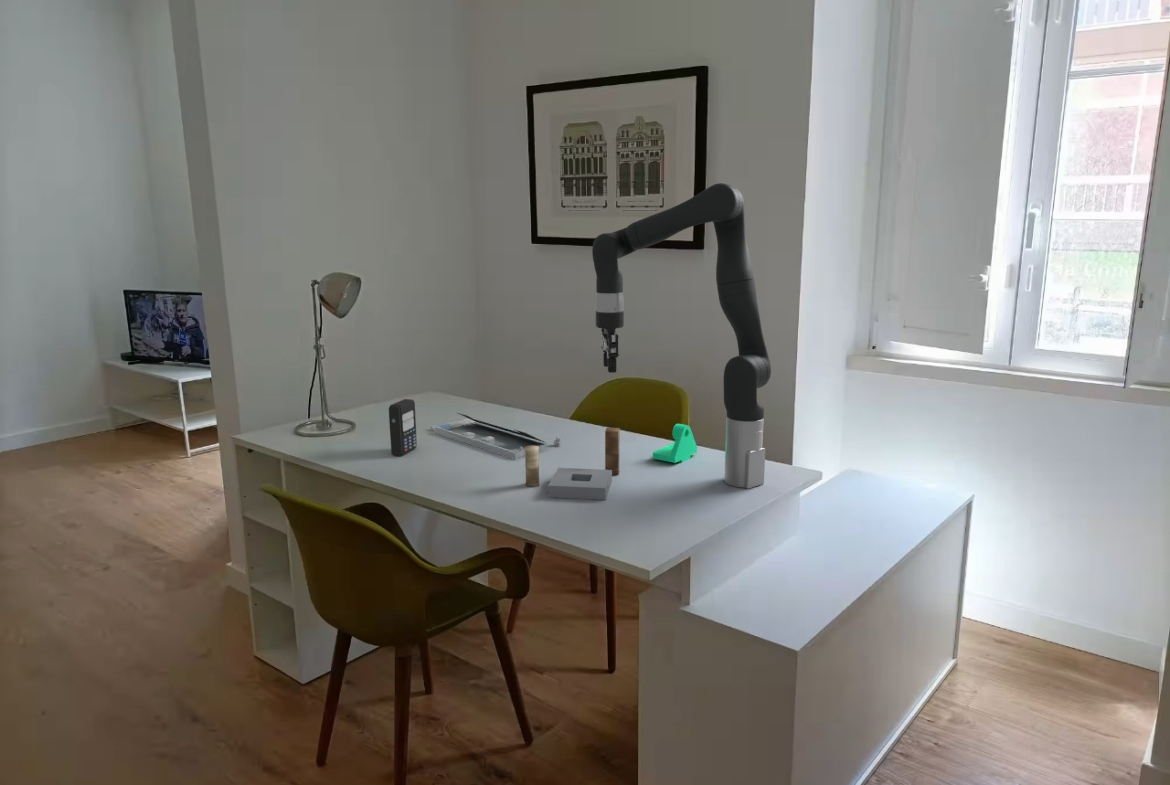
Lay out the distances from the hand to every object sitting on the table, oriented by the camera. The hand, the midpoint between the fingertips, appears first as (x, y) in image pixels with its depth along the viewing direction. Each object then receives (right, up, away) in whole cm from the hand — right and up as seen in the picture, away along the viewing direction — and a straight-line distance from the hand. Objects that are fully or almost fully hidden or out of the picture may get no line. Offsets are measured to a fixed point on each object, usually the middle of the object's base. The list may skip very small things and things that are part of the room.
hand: (609, 369), depth 224 cm
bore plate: (-8, -30, -15) cm, 35 cm away
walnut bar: (+1, -28, -3) cm, 28 cm away
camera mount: (+18, -25, +9) cm, 33 cm away
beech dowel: (-20, -30, -12) cm, 38 cm away
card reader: (-59, -24, +16) cm, 65 cm away
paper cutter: (-35, -21, +30) cm, 51 cm away
